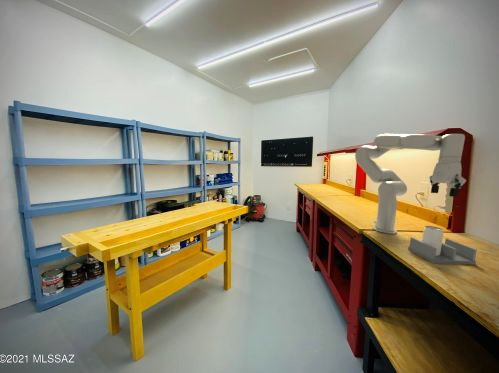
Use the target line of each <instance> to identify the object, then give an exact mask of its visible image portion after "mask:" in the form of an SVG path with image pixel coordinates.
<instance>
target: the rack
mask: <svg viewBox="0 0 499 373" xmlns="http://www.w3.org/2000/svg"><path fill="white" fill-rule="evenodd" d="M407 249H408V251H410V252H412V253H413V254H416V255H417V256H418V257H420V258H423V259H424V260H427V261H428V262H430V263H432V264H442V265H443V264H445V265H447V264H448V265H473V266H474V265H477V261H476V256H477V252H478V250H477V248H474V247H471V246H468V245H467V244H466V245H465V244H463V243H461V242H458V241H455V240H453V239H450V238H445V241H444V242H442V246H441V252H440V255H439V256H435V255H436V249H437V248H435V247H432V246H430V245H428V244H426V243H424V242H422V240H420V239H417V238H415V237H410V239H409V246H407Z"/></svg>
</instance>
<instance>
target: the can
mask: <svg viewBox="0 0 499 373" xmlns="http://www.w3.org/2000/svg"><path fill="white" fill-rule="evenodd" d="M443 238H444V231H443V228H441V227H437V226H434V225H433V226H432V225H425V227H424V228H423V233H422V239H421V241H422V242H424V243H426V244H428V245H430V246H432V247H435V248H437V249H436V255H435V256H439V255H440V252H441V246H442V243H443V240H444V239H443Z"/></svg>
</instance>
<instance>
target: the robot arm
mask: <svg viewBox="0 0 499 373" xmlns="http://www.w3.org/2000/svg"><path fill="white" fill-rule="evenodd" d="M465 140H466V136H465V134H462V133H449V134H445V135H442V136H441V135H433V134H419V133H418V134H415V133H414V134H410V133H409V134H406V133H405V134H404V133H402V134H401V133H400V134H399V133H398V134H397V133H396V134H394V133H391V134H390V133H384V134H383V133H382V134H378V135H377V136H375V138H374V139H373V144H374V146H373V145H362V146H359V147H358V148H357V150H356V151H355V155H354V156H355V161H356V163H357V164H358V166H359V167H360V168H361V170H363V172H364V173H365V174H366V175H367V176H368V178H369V180H371V182H373V183H375V184H379V185H378V188H377V194H378V202H377V203H378V204H377V214H376V221H375V220H374V221H373V223H374V224H375V225H373V227H372V229H373V230H375V231H376V232H379V233H382V234H389V235H390V234H393V235H394V234H397V233H398V230H397V229H395V225H396V217H397V209H398V208H397V207H398V199H397V197H401V196H403V195H405V194H406V193H407V192H408V187H407V185H406V183H405V182H404V180H402V179H401V177H399V175H397V173H396V172H394V171H393V170H391V169H388V168H381V167H380V166H379V165H378V164H377V162H376V161H374V160H373V159H379V158H380V157H382V156H383V155H385V154H386V153H387V152H389V151H391V150H393V149H395V150H404V149H408V150H409V149H410V150H424V151H434V152H435V151H439V156H438V159H437V162H436V164H435V166H434V169H433V171H432V175H430V176H429V182H430V186H431V188H430V189H431V190H430V194H431V193H432V194H438V193H439V189H440V184H449V186H450V187H451V188H449V194H448V196H449V197H452V198H453V197H458V195H459V191H460V190H459V189H461V188H462V187H463V186H464V185H465V183H466V182H467V179H465V178H464V177H463V176H462V163H461V161H462V155H463V150H464V144H465Z"/></svg>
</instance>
